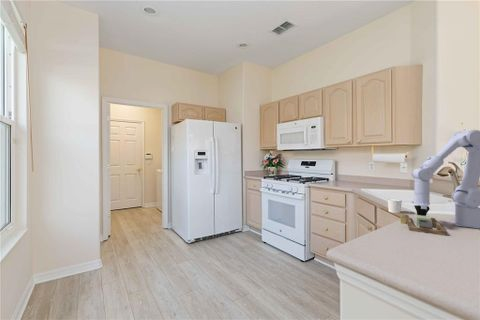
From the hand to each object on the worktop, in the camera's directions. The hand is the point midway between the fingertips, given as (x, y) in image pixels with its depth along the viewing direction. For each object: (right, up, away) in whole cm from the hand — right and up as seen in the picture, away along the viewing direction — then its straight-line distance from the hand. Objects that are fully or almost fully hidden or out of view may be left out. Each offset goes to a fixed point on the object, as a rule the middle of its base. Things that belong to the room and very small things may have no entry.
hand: (421, 220), depth 109 cm
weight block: (-6, -1, -10) cm, 12 cm away
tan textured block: (-8, -1, +1) cm, 8 cm away
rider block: (-2, -1, -3) cm, 4 cm away
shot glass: (+1, -1, +21) cm, 21 cm away
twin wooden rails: (-2, -1, -3) cm, 4 cm away
